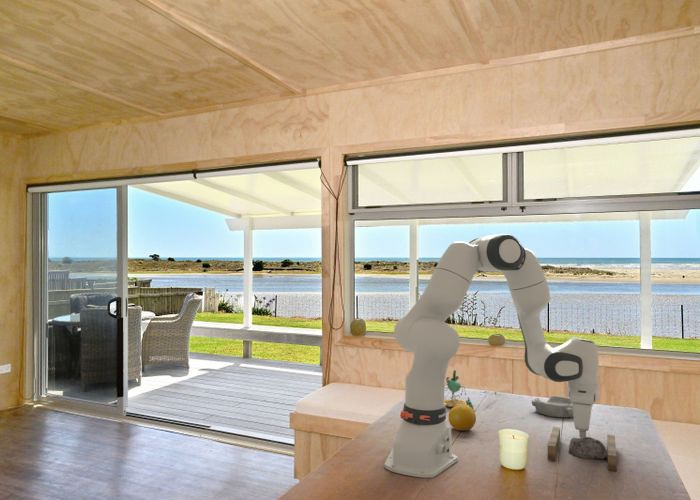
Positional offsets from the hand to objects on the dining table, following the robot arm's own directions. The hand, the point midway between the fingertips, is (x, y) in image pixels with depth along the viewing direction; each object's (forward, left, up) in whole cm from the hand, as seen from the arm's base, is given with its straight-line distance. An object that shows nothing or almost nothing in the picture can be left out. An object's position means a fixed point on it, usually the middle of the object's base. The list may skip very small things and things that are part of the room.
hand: (582, 436), depth 153 cm
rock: (-8, -1, -2) cm, 8 cm away
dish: (+30, +10, -2) cm, 32 cm away
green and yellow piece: (+21, +45, -2) cm, 50 cm away
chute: (-10, 0, -2) cm, 10 cm away
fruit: (-5, +36, -2) cm, 36 cm away
